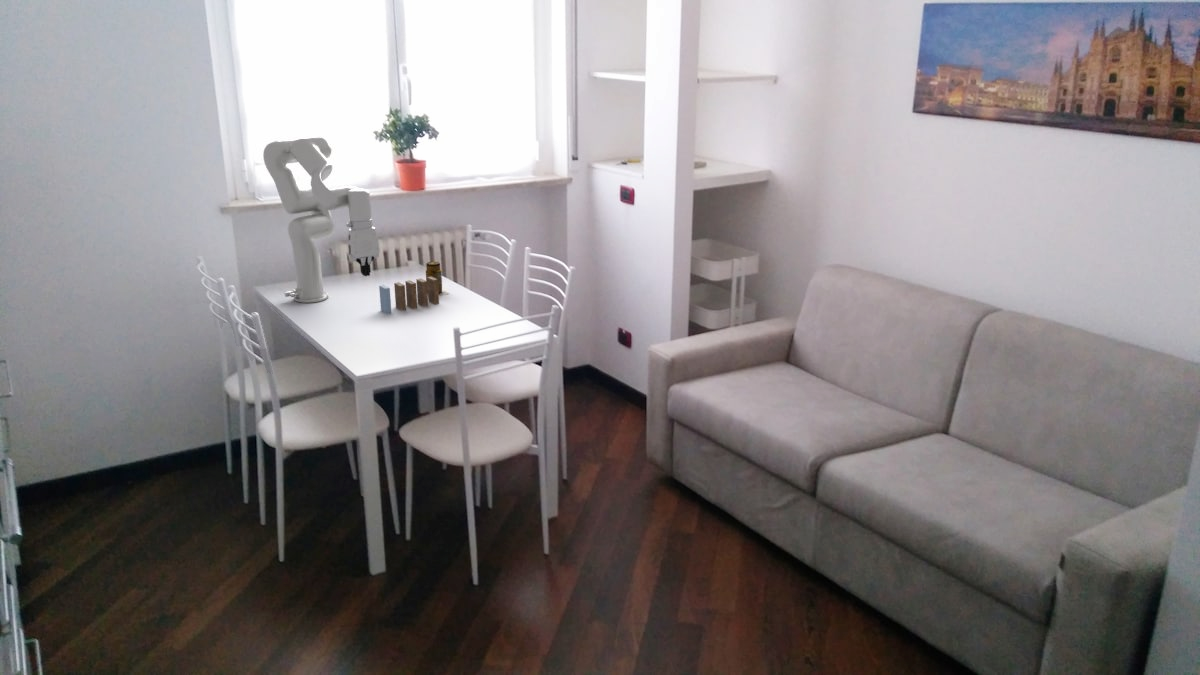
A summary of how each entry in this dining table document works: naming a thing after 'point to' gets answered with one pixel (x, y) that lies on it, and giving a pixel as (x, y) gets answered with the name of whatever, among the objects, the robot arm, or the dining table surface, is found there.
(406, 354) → the dining table surface
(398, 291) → the domino
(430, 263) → the condiment
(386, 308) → the domino
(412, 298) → the domino
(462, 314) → the dining table surface
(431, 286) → the domino
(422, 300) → the domino
